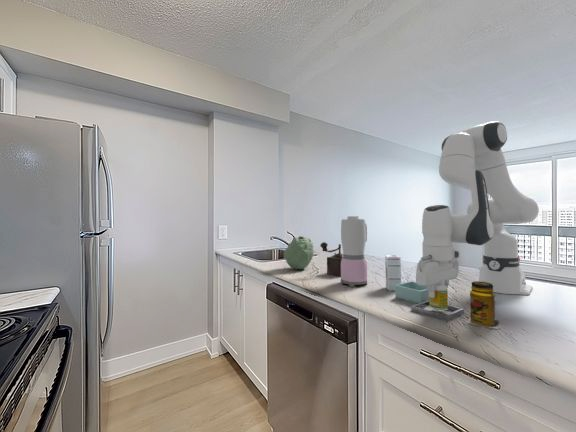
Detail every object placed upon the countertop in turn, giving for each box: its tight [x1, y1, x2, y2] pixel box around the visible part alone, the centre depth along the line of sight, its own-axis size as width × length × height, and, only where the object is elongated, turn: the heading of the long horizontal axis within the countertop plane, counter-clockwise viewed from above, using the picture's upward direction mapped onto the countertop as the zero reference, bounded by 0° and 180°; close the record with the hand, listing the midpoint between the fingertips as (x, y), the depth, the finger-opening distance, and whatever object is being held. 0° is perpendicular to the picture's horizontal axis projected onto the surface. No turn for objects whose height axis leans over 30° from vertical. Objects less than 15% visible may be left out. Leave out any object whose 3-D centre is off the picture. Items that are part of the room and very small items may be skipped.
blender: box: [340, 215, 368, 288], centre depth 127 cm, size 16×12×32 cm
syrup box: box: [384, 254, 402, 292], centre depth 117 cm, size 6×6×14 cm
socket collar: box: [410, 300, 465, 322], centre depth 89 cm, size 12×12×2 cm
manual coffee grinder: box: [319, 241, 343, 278], centre depth 146 cm, size 16×11×18 cm
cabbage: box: [283, 235, 314, 270], centre depth 162 cm, size 16×19×20 cm
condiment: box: [467, 280, 500, 330], centre depth 81 cm, size 7×8×12 cm
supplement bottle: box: [429, 280, 449, 311], centre depth 89 cm, size 5×5×10 cm
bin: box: [394, 280, 429, 305], centre depth 103 cm, size 10×10×5 cm
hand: (438, 295), depth 89 cm, fingers closed on supplement bottle, 5 cm apart
